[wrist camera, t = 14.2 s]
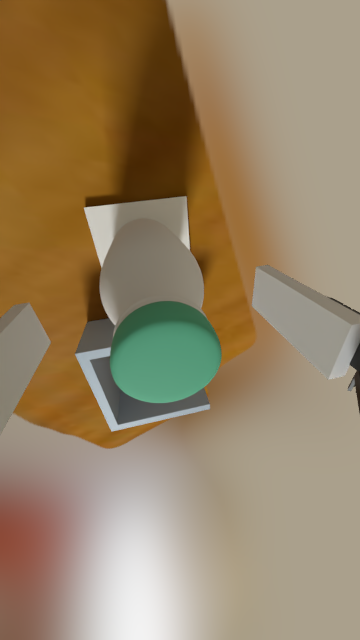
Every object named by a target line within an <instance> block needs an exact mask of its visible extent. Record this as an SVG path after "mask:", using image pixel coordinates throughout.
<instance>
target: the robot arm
mask: <svg viewBox="0 0 360 640" xmlns="http://www.w3.org/2000/svg"><path fill="white" fill-rule="evenodd" d="M252 307H253V308H254V309H255V310H256V311H257V312H259V313H260V314H261V315H262V316H263V317H264V318H265V319H266V320H267V321H268V322H269V323H270V324H271V325H272V326H273V327H274V328H275V329H276V330H277V331H278V332H279V333H280V334H281V335H282V336H284V337H285V339H287V340H288V341H289V342H290V343H291V344H292V345H293V346H294V347H295V348H296V349H297V350H298V351H299V352H300V353H301V354H302V355H303V356H304V357H305V358H306V359H307V360H308V361H309V362H310V363H311V364H313V365H314V366H315V367H316V368H317V369H318V370H319V371H320V372H321V373H322V374H323V375H324V376H325V377H326V378H327V379H333V378H337V377H341V376H344V375H345V373H346V372H347V370H348V368H349V366H350V365H351V366H352V367H353V368H355V369H356V370H357V372H356V373H355V375H354V377H353V379H352V381H351V383H350V385H349V387H348V391H351V390H352V388H353V387H355V386H356V393H357V399H358V406H359V412H360V313H359V312H357V311H356V310H354V309H353V310H352V309H351V308H350V307H348V306H346V305H343V304H342V303H341V302H339V301H337V300H335V299H333V298H329V297H326V296H324V295H322V294H320V293H318V292H317V291H315V290H313V289H311V288H309V287H307V286H305V285H304V284H302V283H300V282H298V281H296V280H294V279H293V278H291V277H289V276H287V275H285V274H284V273H281V272H280V271H278V270H276V269H274V268H273V267H271V266H269V265H265V266H258V267H256V273H255V282H254V291H253V300H252ZM50 343H51V341H50V340H49V338H48V336H47V334H46V332H45V331H44V329H43V327H42V325H41V323H40V321H39V320H38V318H37V316H36V314H35V312H34V310H33V309H32V307H31V305H30V303H24V304H18V305H14V306H13V307H12V308H11V309H10V310H9V311H7V312H6V313H5V314H4V315H3V316H2V317H1V318H0V435H1V433H2V431H3V429H4V428H5V426H6V424H7V422H8V420H9V418H10V417H11V415H12V413H13V411H14V409H15V407H16V406H17V404H18V402H19V400H20V398H21V396H22V395H23V393H24V391H25V389H26V387H27V385H28V384H29V382H30V380H31V378H32V376H33V374H34V373H35V371H36V369H37V367H38V365H39V363H40V362H41V360H42V358H43V356H44V354H45V352H46V351H47V349H48V347H49V345H50Z"/></svg>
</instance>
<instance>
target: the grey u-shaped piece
mask: <svg viewBox="0 0 360 640" xmlns="http://www.w3.org/2000/svg"><path fill="white" fill-rule="evenodd" d="M114 328H115V325H114V324H113V322H112V321H111V320H110V318H108V319H102V320H96V321H90V322H87V324H86V327H85V329H84V332H83V335H82V337H81V340H80V342H79V345H78V348H77V350H76V353H75V355H76V357H77V359H78V361H79V363H80V365H81V368H82V370H83V372H84V374H85V376H86V378H87V380H88V382H89V384H90V387H91V389H92V391H93V393H94V395H95V397H96V399H97V401H98V404H99V406H100V408H101V410H102V412H103V414H104V416H105V418H106V420H107V423H108V425H109V427H110V429H111V431H116V430H120V429H125V428H129V427H133V426H138V425H142V424H146V423H151V422H155V421H159V420H164V419H168V418H172V417H177V416H181V415H186V414H190V413H194V412H199V411H203V410H207V409H210V403H209V401H208V398H207V395H206V392H205V389H204V388H202V389H201V390H200V391H198V392H197V393H195V394H193V395H191V396H189V397H187V398H184V399H181V400H178V401H174V402H168V403H151V402H145V401H141V400H138V399H135V398H133V397H131V396H129V395H127V394H126V393H125V392H123V391H122V390H121V389H120V388H119V387H118V386H117V384H116V383H115V381H114V379H113V376H112V373H111V369H110V358H109V356H110V351H111V345H112V341H113V332H114Z"/></svg>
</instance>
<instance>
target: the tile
mask: <svg viewBox="0 0 360 640" xmlns="http://www.w3.org/2000/svg"><path fill="white" fill-rule="evenodd" d="M84 210H85V214H86V217H87V220H88V224H89V227H90V230H91V234H92V237H93V241H94V244H95V247H96V251H97V254H98V257H99V261H100V264H101V267H102V266H103V263H104V260H105V257H106V255H107V253H108V250H109V248H110V246H111V244H112V242H113V240H114V238H115V236H116V234H117V233H118V231H119V230H120V229H121V228H122V227H123V226H124V225H125V224H127V223H128V222H130V221H133V220H136V219H142V218H147V219H152V220H155V221H158V222H160V223H162V224H163V225H165V226H166V227H167V228H168V229H169V230H170V231H171V232H173V233H174V234H175V235H176V236H177V237H178V238H179V239H180V240H181V241H182V242H183V243H184V244H185V246H186V247H187V248H188V249H189V251H190V242H189V227H188V212H187V197H186V196H182V197H173V198H164V199H155V200H146V201H137V202H129V203H120V204H111V205H102V206H93V207H85V208H84Z"/></svg>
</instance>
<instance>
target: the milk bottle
mask: <svg viewBox="0 0 360 640" xmlns="http://www.w3.org/2000/svg"><path fill="white" fill-rule="evenodd" d="M100 296H101V300H102V304H103V307H104V309H105V311H106V313H107V315H108V317H109V318H110V320H111V321H112V322H113V324H114V325H115V328H114V332H113V341H112V345H111V351H110V369H111V373H112V376H113V379H114V381H115V383H116V384H117V386H118V387H119V388H120V389H121V390H122V391H123V392H125V393H126V394H127V395H129V396H131V397H133V398H135V399H138V400H141V401H145V402H151V403H168V402H174V401H178V400H181V399H184V398H187V397H189V396H191V395H193V394H195V393H197V392H198V391H200V390H201V389H202V388H204V387H205V386H206V385H207V384H208V383H209V382H210V381H211V380H212V379H213V377H214V376H215V374H216V372H217V370H218V368H219V366H220V362H221V346H220V342H219V339H218V337H217V334H216V332H215V330H214V328H213V327H212V325H211V324H210V322H209V321H208V319H207V317H206V315H205V314H204V312H203V311H202V310H201V307H202V303H203V297H204V283H203V277H202V273H201V270H200V268H199V265H198V263H197V261H196V259H195V257H194V256H193V255H192V253H191V252H190V251H189V249H188V248H187V247H186V246H185V244H184V243H183V242H182V241H181V240H180V239H179V238H178V237H177V236H176V235H175V234H174V233H173V232H171V231H170V230H169V229H168V228H167V227H166V226H165V225H163V224H162V223H160V222H158V221H155V220H152V219H147V218H142V219H136V220H133V221H130V222H128V223H127V224H125V225H124V226H123V227H122V228H121V229H120V230H119V231H118V233H117V234H116V236H115V238H114V240H113V242H112V244H111V246H110V248H109V250H108V253H107V255H106V257H105V260H104V263H103V266H102V269H101V274H100Z"/></svg>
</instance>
